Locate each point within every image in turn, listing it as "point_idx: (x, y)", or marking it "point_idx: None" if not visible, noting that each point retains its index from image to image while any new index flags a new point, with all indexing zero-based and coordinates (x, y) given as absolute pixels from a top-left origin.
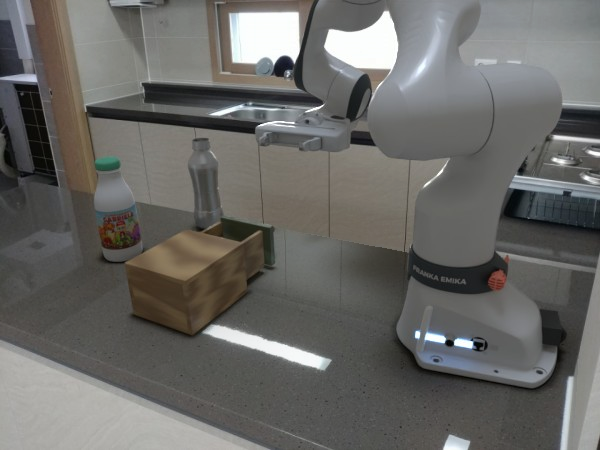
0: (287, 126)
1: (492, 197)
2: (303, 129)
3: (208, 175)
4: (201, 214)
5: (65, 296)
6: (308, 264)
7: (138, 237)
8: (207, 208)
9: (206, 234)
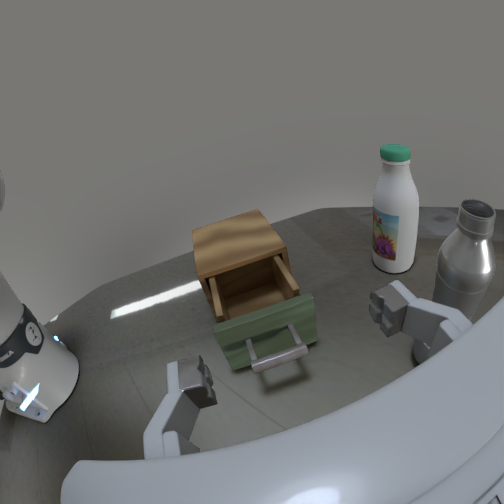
0: (476, 424)
1: None
2: (319, 479)
3: (437, 276)
4: None
5: (332, 226)
6: (203, 410)
7: (382, 252)
8: None
9: (252, 256)
